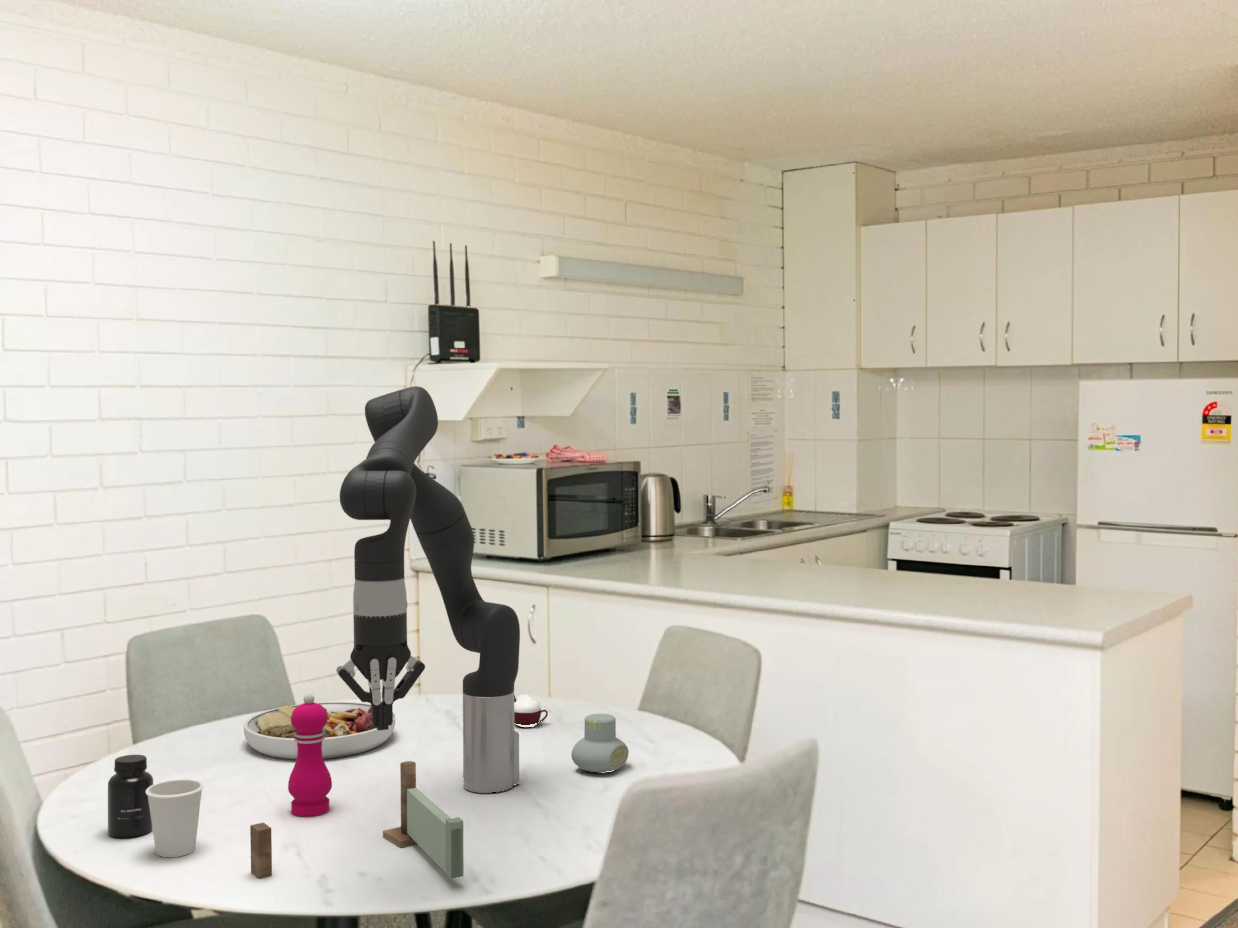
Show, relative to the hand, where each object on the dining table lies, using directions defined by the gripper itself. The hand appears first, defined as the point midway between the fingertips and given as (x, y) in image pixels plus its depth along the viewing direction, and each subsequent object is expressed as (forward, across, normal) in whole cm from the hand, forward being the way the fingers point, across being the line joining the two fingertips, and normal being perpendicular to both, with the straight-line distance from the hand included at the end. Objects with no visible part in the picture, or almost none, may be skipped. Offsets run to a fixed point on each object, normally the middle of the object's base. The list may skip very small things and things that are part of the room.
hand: (381, 728), depth 174 cm
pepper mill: (+22, +6, -34) cm, 41 cm away
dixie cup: (+22, +28, -23) cm, 42 cm away
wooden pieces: (+22, +4, -12) cm, 25 cm away
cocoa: (+23, -44, -74) cm, 88 cm away
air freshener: (+23, -48, -38) cm, 65 cm away
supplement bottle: (+22, +34, -34) cm, 53 cm away
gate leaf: (+20, -8, -3) cm, 22 cm away
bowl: (+23, -1, -77) cm, 80 cm away
